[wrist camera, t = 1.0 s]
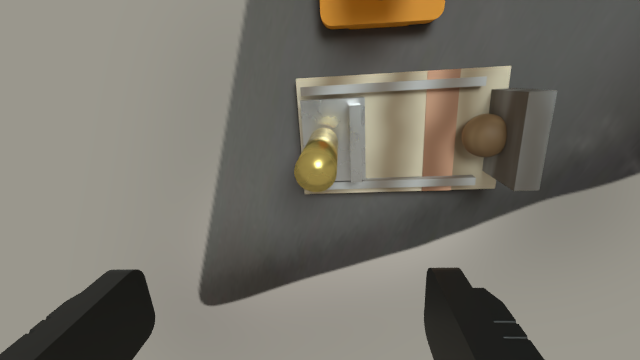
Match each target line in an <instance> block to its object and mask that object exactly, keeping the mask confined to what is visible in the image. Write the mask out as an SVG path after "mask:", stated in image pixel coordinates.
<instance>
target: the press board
mask: <svg viewBox="0 0 640 360" xmlns="http://www.w3.org/2000/svg"><path fill="white" fill-rule="evenodd" d="M510 72H511V66H498V67H482V68H465V69H449V70H432V71H416V72H400V73H383V74H367V75H350V76H334V77H317V78H301V79H296V88H297V100H298V113H299V126H300V139H301V152H302V151H303V149H304V146H303V133H302V119H301V106H300V101H301V100H310V99H328V98H346V97H365V162H366V180H362V182H354V183H351V181H335V182H334V183H333V185H332V186H331V187H330V188H328V189H327V190H325V191H322V192H310V191H307V190H305V189H304V191H305V194H325V193H359V192H393V191H438V190H460V189H494V188H495V185H496V180H498V181H499V182H501V183H502V184H504V185H505V186H507V187H508V188H510V189H511V190H513V191H536V190H539V189H540V183H541V178H542V172H543V167H544V161H545V156H546V150H547V145H548V139H549V134H550V128H551V123H552V117H553V112H554V106H555V101H556V95H557V90H541V89H521V88H508V87H509V80H510Z"/></svg>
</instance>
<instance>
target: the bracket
mask: <svg viewBox="0 0 640 360" xmlns="http://www.w3.org/2000/svg"><path fill="white" fill-rule="evenodd" d="M444 6H445V0H320V15H321V19H322V22H323V24H324V26H325V27H327V28H329V29H345V28H349V29H365V28H381V27H398V26H408V25H410V24H426V23H430V22H432V21H433V20H435V19H436V18H438V17H439V16H440V15H441V14H442V12H443V10H444Z"/></svg>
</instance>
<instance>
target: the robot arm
mask: <svg viewBox="0 0 640 360" xmlns="http://www.w3.org/2000/svg"><path fill="white" fill-rule="evenodd" d="M424 323H425V332H426V336H427V340H428V344H429V346H430V350H431V353H432V355H433V358H434V360H544V359H543V357H542V356H541V355H540V353H539V352H538V350H537V349H536V348H535V346H534V345H533V343H532V342H531V341H530V340H528V339H527V335H526V334H525V332H524V331H523V330H522V328H521V327H520V326H519V324H516V320H515V319H514V317H513V316H512V314H511V313H510V312H509V310H508V309H507V308H506V306H505V305H504V304H503V302H502V301H500V300H499V299H498V298H496V297H495V296H494V295H492V294H491V293H490V292H488V291H487V290H486V289H484V288H472V286H471V285H470V283H469V282H468V280H467V278H466V277H465V275H464V274H463V272H462V271H461V269H459V268H429V269H428V271H427V277H426V293H425V309H424ZM154 324H155V312H154V308H153V305H152V301H151V297H150V294H149V290H148V286H147V283H146V280H145V276H144V274H143V273H142V271H140V270H109V271H107V272H106V273H105V274H103V275H102V276H101V277H100V278H98V279H97V280H96V281H95V282H94V283H92V284H91V285H90V286H89V287H87V288H86V289H85V290H84V291H83V292H81V293H80V294H78V295H76V296H74V297H73V298H71V299H69V300H67V301H66V302H64V303H63V304H62V305H61V306H59V307H58V308H57V309H56V310H54V311H53V312H52V313H51V314H49V316H47V318H46V320H42V321H41V322H40V323H38V324H37V325H36V326H35V327H33V328H32V329H31V330H30V332H29V334H25V335H23V336H22V337H21V338H20V339H18V340H17V341H16V342H15V343H13V344H12V345H11V346H10V347H8V348H7V349H6V350H5V351H4V352H2V353H1V354H0V360H132V359H133V358H134V357H135V355H136V354H137V353H138V351H139V350H140V348H141V347H142V346H143V345H144V343H145V342H146V341H147V339H148V338H149V336H150V335H151V333H152V330H153V327H154Z"/></svg>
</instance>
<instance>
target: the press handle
mask: <svg viewBox="0 0 640 360" xmlns="http://www.w3.org/2000/svg"><path fill="white" fill-rule="evenodd" d="M300 106H301V119H302V133H303V146H304V149H303V151H302V153H301V155H300V157H299V159H298V161H297V163H296V165H295V169H294V174H295V178H296V180H297V182H298V184H299V185H300V186H301V187H302V188H304V189H305V190H307V191H310V192H322V191H325V190H327V189H328V188H330V187H331V186H332V185H333V183H334V182H335V181H351V183H354V182H362V180H366V162H365V97H346V98H328V99H310V100H301V101H300Z"/></svg>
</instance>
